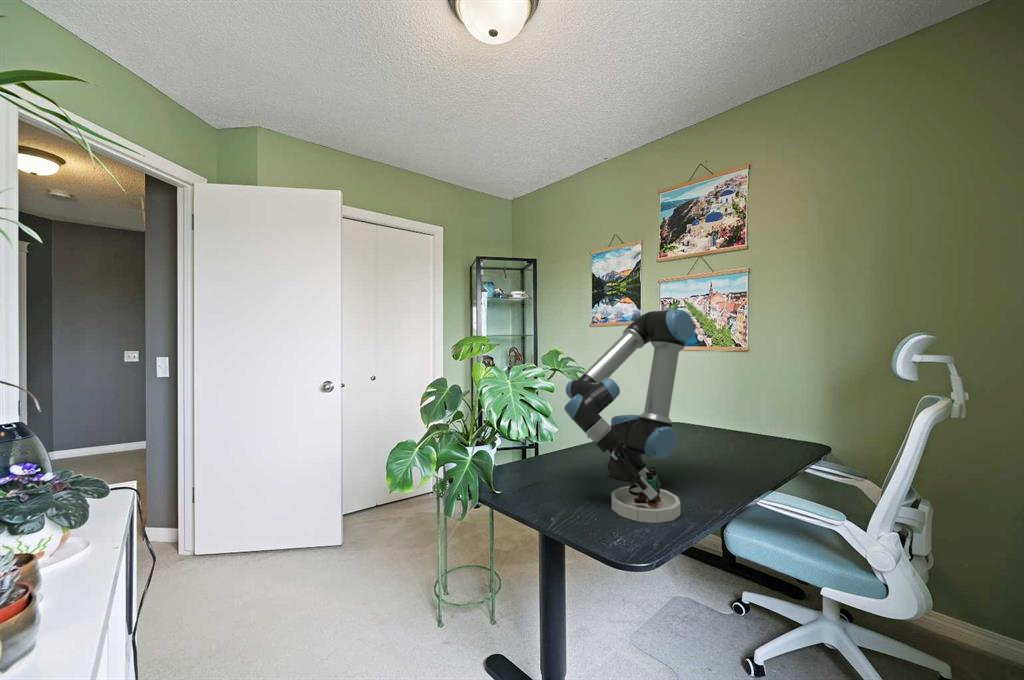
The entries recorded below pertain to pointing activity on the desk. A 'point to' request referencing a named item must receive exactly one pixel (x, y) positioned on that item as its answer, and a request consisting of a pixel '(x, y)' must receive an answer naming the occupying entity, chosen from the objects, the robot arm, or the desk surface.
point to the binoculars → (653, 482)
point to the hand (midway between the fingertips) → (655, 491)
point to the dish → (645, 506)
